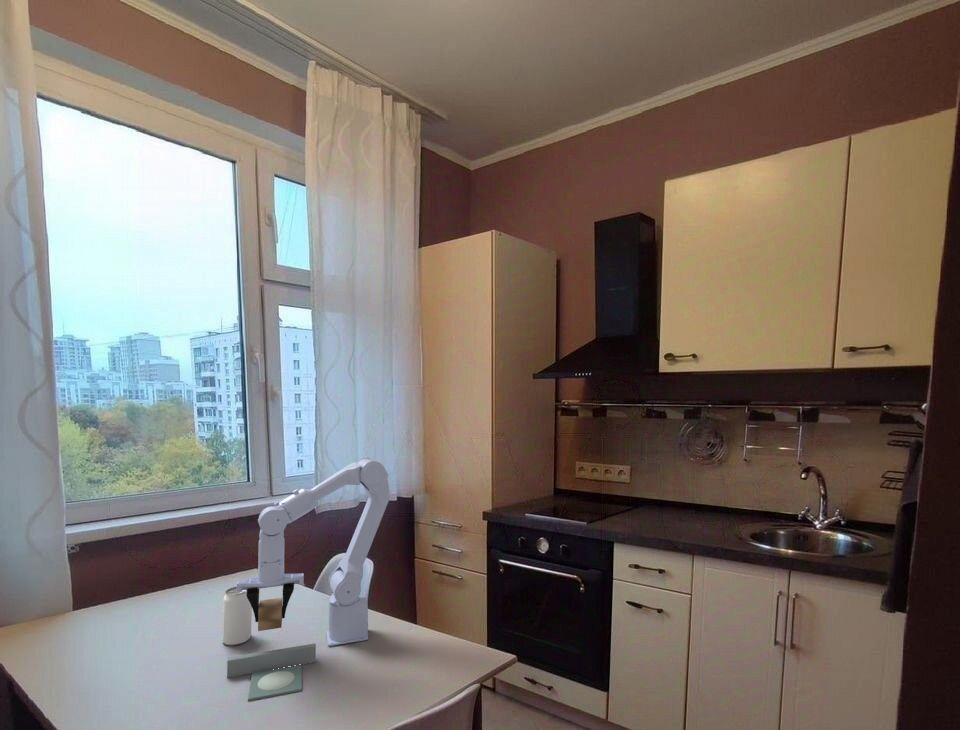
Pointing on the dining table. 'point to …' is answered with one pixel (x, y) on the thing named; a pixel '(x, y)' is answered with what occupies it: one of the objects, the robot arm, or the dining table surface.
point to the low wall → (270, 660)
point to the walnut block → (270, 614)
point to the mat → (275, 682)
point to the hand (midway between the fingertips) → (270, 618)
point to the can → (236, 617)
